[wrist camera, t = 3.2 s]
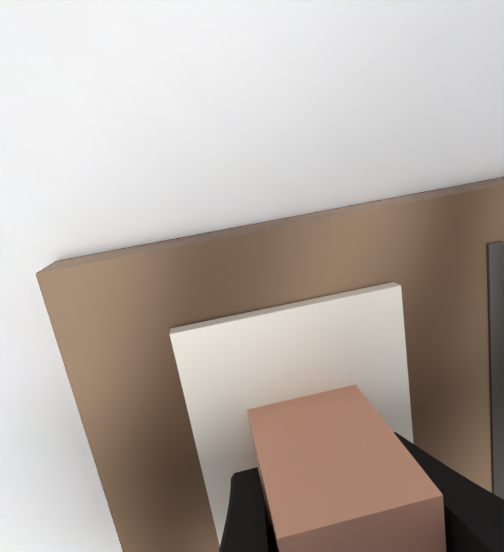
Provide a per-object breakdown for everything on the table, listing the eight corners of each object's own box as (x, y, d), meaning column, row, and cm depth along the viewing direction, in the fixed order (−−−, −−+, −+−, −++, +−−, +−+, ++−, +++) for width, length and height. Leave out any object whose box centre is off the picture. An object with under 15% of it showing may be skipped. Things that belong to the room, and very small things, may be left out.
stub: (393, 281, 11) (520, 347, 7) (415, 546, 13) (521, 720, 9) (170, 328, 10) (155, 432, 6) (233, 596, 13) (253, 808, 8)
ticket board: (697, 140, 13) (834, 130, 10) (662, 478, 16) (758, 540, 14) (55, 261, 11) (10, 289, 8) (162, 616, 14) (154, 721, 12)
